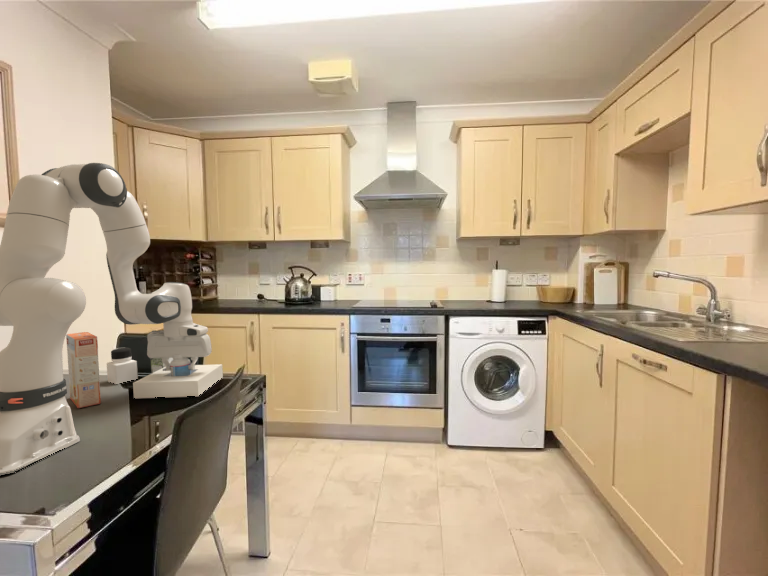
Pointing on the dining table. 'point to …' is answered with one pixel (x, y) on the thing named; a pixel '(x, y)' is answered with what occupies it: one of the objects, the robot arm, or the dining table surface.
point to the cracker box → (83, 369)
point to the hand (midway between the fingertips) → (180, 370)
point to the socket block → (178, 382)
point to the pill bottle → (180, 366)
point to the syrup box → (158, 364)
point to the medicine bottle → (121, 366)
